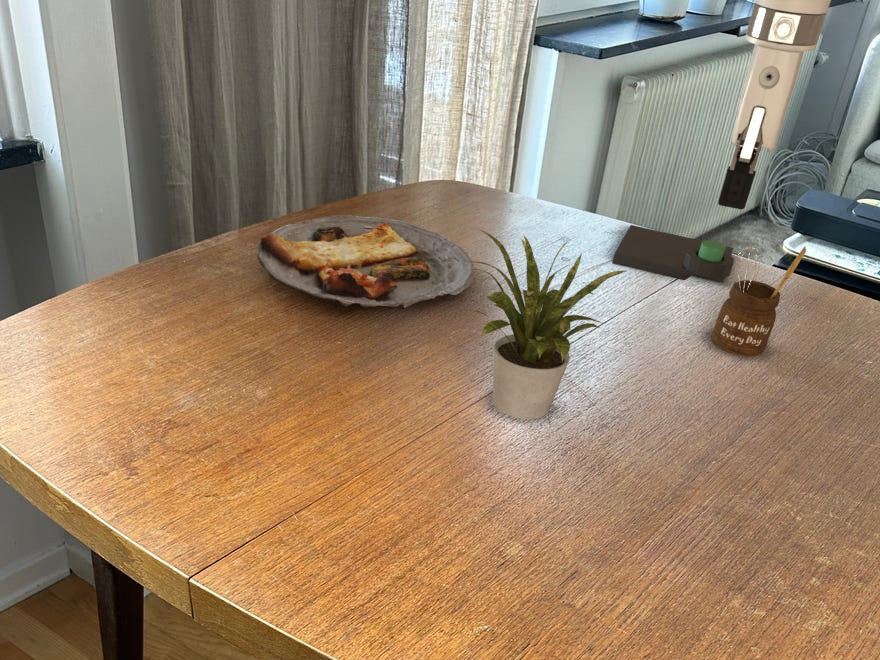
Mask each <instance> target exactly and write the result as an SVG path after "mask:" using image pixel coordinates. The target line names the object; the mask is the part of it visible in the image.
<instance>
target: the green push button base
mask: <svg viewBox="0 0 880 660" xmlns="http://www.w3.org/2000/svg"><path fill="white" fill-rule="evenodd" d="M703 241H704V240H701V239H695V238H692V237H687V236H682V235H678V234H674V233H670V232H669V233H668V232H664V231H660V230H656V229H651V228H648V227H647V228H646V227H643V226H638V225H634V224H630V225H629V227H628V229H627V231H626V232H625V234H624V236H623V238H622V239H621V241H620V243H619V245H618V247H617V249H616V250H615V252H614V254H613V255H614V256H613V258H612V262H611V263H612V264H613V265H616V266H621V267H626V268H630V269H635V270H639V271H641V272H642V271H643V272H646V273H652V274H655V275H661V276H664V277H669V278H673V279H677V280H681V281H686V280H687V279H689V278H691V277H695V278H698V279H703V280H708V281H711V282H716V283H721V284H724V280H725V279H726V277H729V276H730V274H731V272H732V268H733V265H734V262H735V258H733V257H732V254H733V251H734V247H731V246H727V245H725V246H726V249H725V252H724V255H723V258H722V261H721V262H712V261H708V260H704V259H702V258H700V257H698V253H699V250H700V247H701V243H702V242H703Z"/></svg>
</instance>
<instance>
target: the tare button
mask: <svg viewBox="0 0 880 660" xmlns="http://www.w3.org/2000/svg"><path fill="white" fill-rule="evenodd" d="M702 241H703V242H702V243H701V247H700V250H699V253H698V257H700V258H702V259H704V260H708V261H712V262H721V261H722V258H723V255H724V252H725V249H726V246H727V245H725V244H724V243H722V242H719V241H716V240H711V239H710V240H709V239H707V240H706V239H705V240H702Z"/></svg>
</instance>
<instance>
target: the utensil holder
mask: <svg viewBox="0 0 880 660" xmlns="http://www.w3.org/2000/svg"><path fill="white" fill-rule="evenodd" d="M751 249H752V250H753V252H754V254H755V262H754V266H757V262H758V265H760V263H761V259H759V261H758V257H757V256H758V255H759V257H761V253H760V251H759V250H758V249H757V248H755V247H753V246H746V247H744V248H743V249H742V250H741V252H739V253H738V254H737V258H736V260H739V259H742V258H743V256H744V254H745V252H747V250H748V255H747V258H750V255H751ZM743 251H744V252H743ZM806 253H807V246H806V245H805V246H803V247H802V249H801V250H800V252H799V253H798V254H797V256H796V258H795V259H794V260H793V261H792V262H791V264H790V266H789V267H788V268H787V270H786V272H785V274H784V276H783V278H782V280H781V281H780V283H779V284H778V285H777V287H776V288H775V287H774V286H772V285H769V284H767V283H764V282H761V281H756V278H757V276H758V275H759V274H758V273H759V268H760V267H758V269H757V267H754V268H753V273H752V276H751V278H750V280H749V279H747V277H748V273H745V275H744V276H745V277H744V280H743V279H742V280H740V268H741V263H742V260H739V262H738V261H736V262H735V265H737V264H738V263H739V264H738V271H737V267H735V269H734V275H735V277H734V278H737V279H735V282H734V283H733V284H732V286H731V288H730V290H729V293H728V295H729V296H728V298H727V299H725V301H723V303H722V304H721V307H720V310H719V312H718V315H717V318H716V321H715V323H714V327H713V330H712V333H711V337H710V341H711V342H712V344H713V345H714V346H715V347H716V348H717V349H720V350H721V351H724V352H725V353H728V354H731V355H736V356H740V357H756V356H760V355H762V354H763V353H764V351H765V349H766V347H767V344H768V341H769V339H770V336H771V334H772V332H773V329H774V326H775V323H776V318H777V311H776V308H777V307H778V306H779V303H780V300H781V299H780V298H781V293H780V290H781V288H782V287H783V285H784V284H785V283H786V281H787V280H788V279H790V277H791V276H792V275H793V273H794V271H795V270H796V268H797V267H798V265H799V264H800V263H801V260H802V259H803V258H804V256H805V255H806ZM739 255H740V256H739ZM749 262H750V260H747V262H746V265H749ZM748 270H749V267H746V268H745V272H748ZM736 271H737V272H738V276H737V273H736ZM755 272H757V273H755ZM755 275H756V276H755Z"/></svg>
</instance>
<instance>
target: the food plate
mask: <svg viewBox="0 0 880 660" xmlns="http://www.w3.org/2000/svg"><path fill="white" fill-rule="evenodd" d="M259 240H260V241H259V244H258V245H257V255H256V259H257V260H258V261H259V264H260V265H261V266H262V268H263V269H264V271H265V272H266V273H267V275H269V277H270V278H271V279H272V280H274V281H275V282H277V283H279V284H280V285H282V286H284V287H286V288H289V289H292V290H295V291H299V292H302V293H303V294H306V295H308V296H309V297H311V298H313V299H315V300H323V301H325V302H331V303H334V307H336V306H337V305H338V304H337V301H338V302H339V305H342V306H343V307H344V306H345V307H348V306H351V305H352V304H359V305H360V308H361V307H362V308H373V307H377V306H380V307H395V308H397V307H399V306H400V305H402V306H403V309H406V308H408V307H410V306H412V305H415V304H417V303H420V302H422V301H429V300H431V299H432V300H434V299H435V298H436V297H439V296H441V297H443V296H445V295H448V294H449V295H452V296H457V295H458V294H460V293H463V291H465V290H467V288H468V287H470V286H471V285H472V283H473V280H474V279H473V278H474V272H473V271H474V270H473V269H474V263H473V262H471V261H473V260H472V259H471V257H470V256H469V254H468V251H465V248H463V246H461V245H459V244H458V243H456V242H455V241H453V240H451V239H449V238H447V236H445V235H443V233H440V232H437V231H434V230H431V229H429V228H425V227H422V226H421V225H418V224H413V223H410V222H408V221H407V222H406V221H403V220H398V219H397V220H396V219H393V218H384V217H379V216H378V217H368V216H367V217H366V216H365V217H364V216H355V215H354V214H353V215H352V214H338V215H328V216H321V217H317V218H313V219H308V220H302V221H298V222H294V223H289V224H287V225H283V226H281V227H279V228H276V229H275V230H273V231H271V232H269V234H266V235H265V236H261V237H260V238H259Z"/></svg>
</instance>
